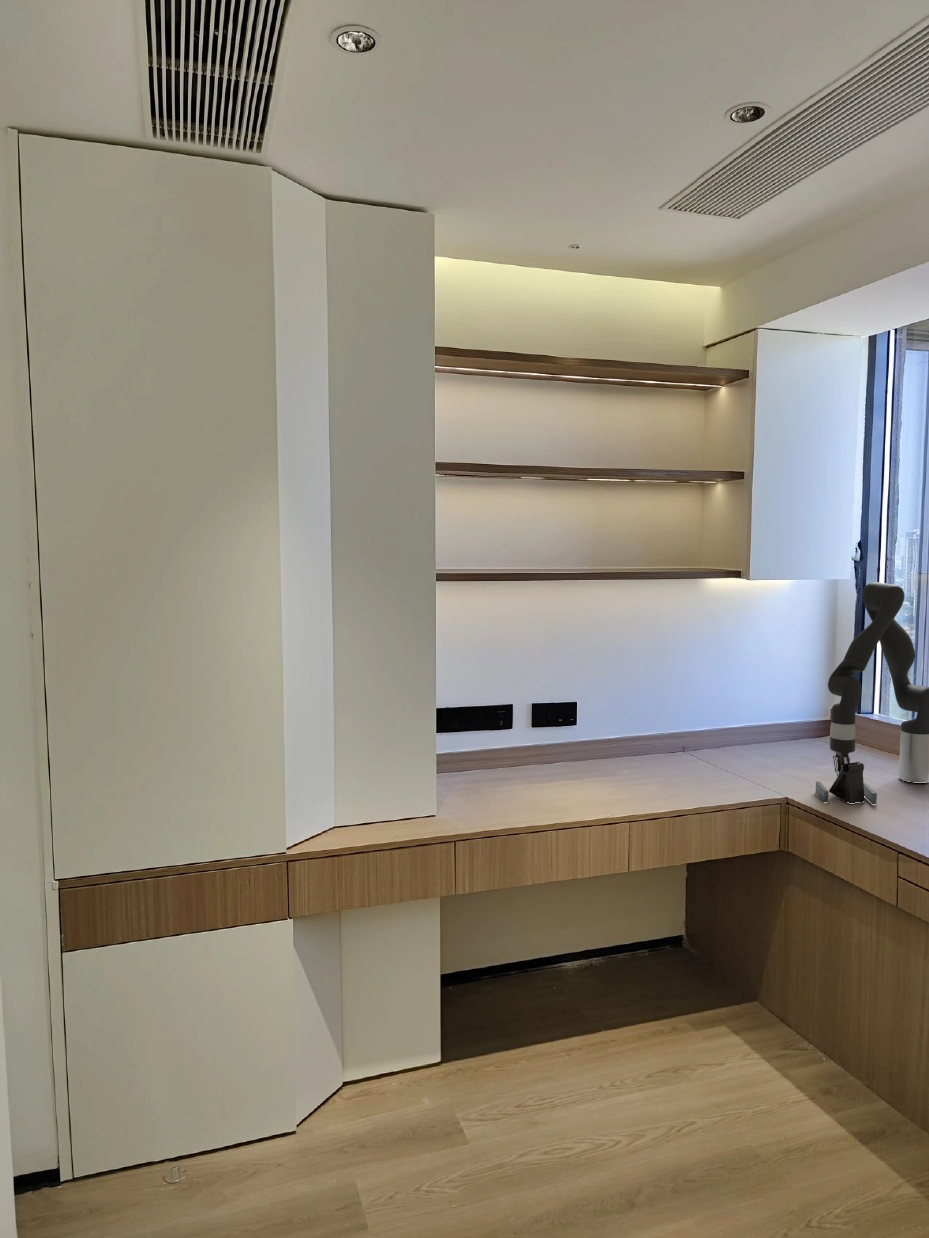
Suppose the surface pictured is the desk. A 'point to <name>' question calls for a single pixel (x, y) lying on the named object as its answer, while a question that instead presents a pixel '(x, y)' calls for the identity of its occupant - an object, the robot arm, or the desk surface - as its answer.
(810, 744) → the desk surface
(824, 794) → the chute
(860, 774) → the dark a-frame stand
